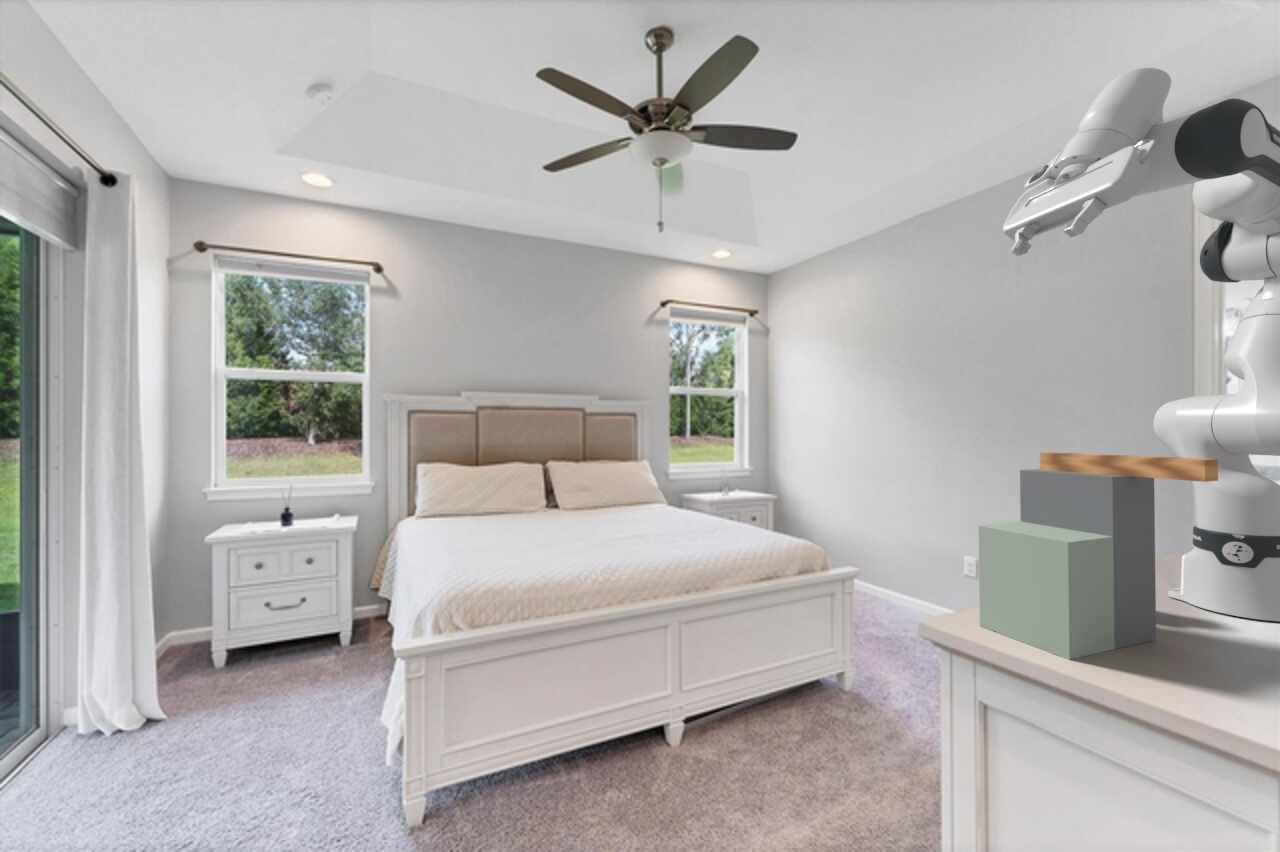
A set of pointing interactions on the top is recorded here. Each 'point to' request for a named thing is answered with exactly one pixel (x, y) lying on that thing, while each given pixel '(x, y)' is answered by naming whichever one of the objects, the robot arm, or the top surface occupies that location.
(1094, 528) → the stepped stand
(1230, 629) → the top surface
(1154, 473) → the orange bar
